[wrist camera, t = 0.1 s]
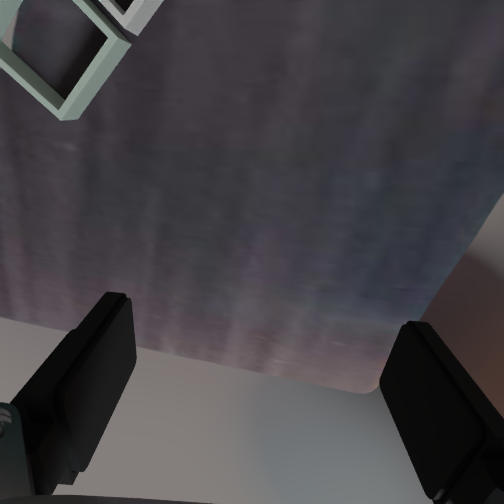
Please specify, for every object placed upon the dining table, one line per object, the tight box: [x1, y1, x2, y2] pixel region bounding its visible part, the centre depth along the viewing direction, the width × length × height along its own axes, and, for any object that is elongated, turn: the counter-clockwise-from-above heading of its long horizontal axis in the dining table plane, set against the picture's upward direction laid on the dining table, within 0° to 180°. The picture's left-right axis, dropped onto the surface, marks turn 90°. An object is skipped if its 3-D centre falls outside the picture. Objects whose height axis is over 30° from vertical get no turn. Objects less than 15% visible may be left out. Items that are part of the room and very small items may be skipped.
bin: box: [0, 0, 132, 121], centre depth 31 cm, size 11×11×4 cm
